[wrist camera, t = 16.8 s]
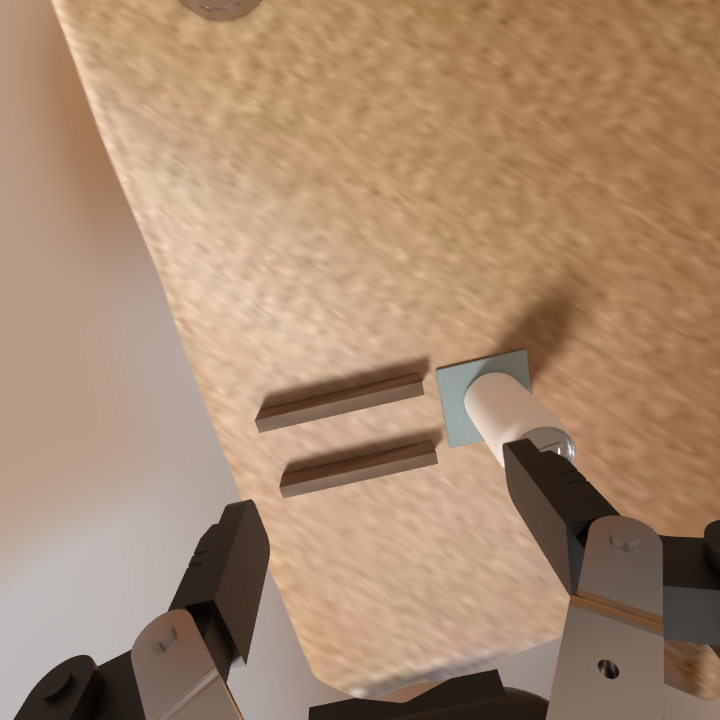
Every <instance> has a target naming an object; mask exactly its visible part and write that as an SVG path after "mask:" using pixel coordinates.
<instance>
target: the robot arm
mask: <svg viewBox="0 0 720 720" xmlns="http://www.w3.org/2000/svg"><path fill="white" fill-rule="evenodd" d="M179 1H180V2H181V3H183V4H184V5H185V6H186V7H187V8H188V9H189V10H191V11H192V12H194V13H196V14H197V15H199V16H201V17H204V18H207V19H209V20H214V21H231V20H236V19H238V18H240V17H243V16H245V15H247V14H248V13H249V12H251V11H252V10H253V9H255V8H256V6H257V5H258V4H259V3H260V1H261V0H179ZM502 450H503V458H504V465H505V473H506V480H507V486H508V490H509V494H510V497H511V499H512V501H513V503H514V505H515V507H516V509H517V510H518V512H519V514H520V515H521V517H522V518H523V520H524V522H525V523H526V525H527V527H528V528H529V530H530V532H531V533H532V535H533V536H534V538H535V540H536V541H537V543H538V545H539V546H540V548H541V550H542V551H543V553H544V555H545V556H546V558H547V559H548V561H549V563H550V564H551V566H552V568H553V569H554V571H555V573H556V574H557V576H558V578H559V579H560V581H561V582H562V584H563V586H564V587H565V589H566V591H567V592H568V594H569V596H570V597H571V598H570V602H569V607H568V612H567V617H566V622H565V627H564V632H563V636H562V642H561V646H560V651H559V656H558V662H557V666H556V671H555V676H554V681H553V686H552V691H551V696H550V701H548V700H546V699H544V698H542V697H540V696H538V695H536V694H533V693H530V692H527V691H525V690H520V689H516V688H511V687H503V685H502V682H501V679H500V676H499V674H498V670H497V669H495V670H490V671H486V672H480V673H476V674H471V675H466V676H461V677H456V678H451V679H449V680H447V681H445V682H443V683H441V684H440V685H438V686H436V687H434V688H432V689H430V690H428V691H427V692H425V693H423V694H421V695H419V696H417V697H416V698H413V699H412V700H410V701H408V702H405V703H396V702H386V701H376V700H367V699H358V698H353V699H348V700H344V701H339V702H334V703H329V704H325V705H320V706H315V707H310V708H309V720H664V639H668V640H676V641H684V642H693V643H701V644H709V646H710V647H711V648H712V649H713V651H714V652H715V653H716V654H717V656H718V657H719V658H720V520H717V521H714V522H712V523H710V524H709V525H707V527H706V528H705V531H704V538H693V537H671V536H662V535H658V534H657V533H656V532H655V531H654V530H653V529H652V528H650V527H649V526H647V525H646V524H644V523H642V522H640V521H638V520H635V519H633V518H629V517H624V516H621V515H620V514H619V513H618V512H617V511H616V510H615V509H614V508H613V507H612V506H611V505H610V503H609V502H608V501H607V500H606V499H605V498H604V497H603V496H602V495H601V494H600V493H599V492H598V491H597V490H596V489H595V488H594V487H593V486H592V485H591V484H590V482H589V481H586V478H585V477H584V476H583V475H582V474H581V473H580V472H578V471H577V469H576V468H575V467H574V466H573V465H572V464H571V463H570V461H569V460H568V459H567V458H565V457H563V456H561V455H559V454H557V453H555V452H553V451H551V450H548V451H543V452H540V451H539V450H538V448H537V447H536V446H535V445H534V444H533V443H532V441H531V440H530V439H528V438H524V439H519V440H515V441H511V442H506V443H503V445H502ZM269 557H270V545H269V539H268V536H267V533H266V531H265V528H264V526H263V523H262V521H261V518H260V515H259V513H258V510H257V508H256V505H255V503H254V502H253V500H251V499H250V500H245V501H241V502H236V503H232V504H228V505H227V506H226V507H225V509H224V511H223V514H222V516H221V519H220V521H219V523H218V524H213V525H212V526H211V527H210V528H209V529H208V530H207V532H206V533H205V534H204V535H203V536H202V537H201V539H200V541H199V543H198V545H197V547H196V550H195V552H194V556H192V558H191V561H190V563H189V568H187V570H186V572H185V574H184V576H183V579H182V581H181V583H180V585H179V588H178V590H177V592H176V594H175V596H174V599H173V601H172V603H171V605H170V607H169V610H168V612H166V613H164V614H162V615H160V616H159V617H157V618H156V619H155V620H153V621H152V622H151V623H150V624H148V625H147V626H146V627H145V629H144V630H143V631H142V632H141V633H140V635H139V636H138V637H137V639H136V641H135V643H134V645H133V647H132V649H131V650H130V651H128V652H126V653H124V654H122V655H120V656H118V657H116V658H114V659H112V660H110V661H108V662H106V663H104V664H102V665H100V666H98V667H97V665H96V663H95V662H94V660H93V659H92V658H91V657H90V656H88V655H79V656H75V657H72V658H70V659H68V660H66V661H64V662H62V663H61V664H59V665H58V666H56V667H55V668H54V669H52V670H51V671H50V672H49V673H47V675H45V676H44V677H43V678H42V679H41V680H40V681H39V682H38V683H37V685H36V686H35V687H34V688H33V690H32V691H31V692H30V694H29V695H28V697H27V699H26V700H25V702H24V703H23V705H22V707H21V709H20V710H19V712H18V713H17V715H16V717H15V718H14V720H244V718H243V716H242V714H241V712H240V710H239V708H238V706H237V704H236V702H235V699H234V697H233V695H232V693H231V691H230V689H229V687H228V685H227V679H228V675H229V671H230V669H232V668H237V667H242V666H246V663H247V658H248V654H249V649H250V645H251V640H252V636H253V631H254V626H255V622H256V617H257V613H258V607H259V603H260V599H261V594H262V589H263V585H264V580H265V576H266V571H267V567H268V562H269Z"/></svg>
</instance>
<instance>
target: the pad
mask: <svg viewBox="0 0 720 720" xmlns="http://www.w3.org/2000/svg"><path fill="white" fill-rule="evenodd" d="M493 372H500V373H505V374H507V375H510V376H511V377H513V378H514V379H515V380H516V381H518V382H519V383H520V384H521V385H522V386H523V387H524V388H525V389H527V390H528V391H529V392H530V393H531V386H530V376H529V366H528V356H527V349H523V350H518V351H514V352H510V353H505V354H501V355H497V356H493V357H488V358H484V359H480V360H476V361H471V362H467V363H463V364H458V365H454V366H450V367H446V368H441V369H437V370H436V375H437V380H438V386H439V391H440V397H441V402H442V407H443V413H444V418H445V424H446V429H447V435H448V440H449V446H450V448H454V447H459V446H463V445H467V444H472V443H476V442H481V441H485V440H484V438H483V437H482V435H481V434H480V432H479V431H478V429H477V428H476V426H475V425H474V423H473V422H472V420H471V418H470V417H469V415H468V413H467V411H466V409H465V405H464V398H465V394H466V392H467V390H468V388H469V386H470V385H471V384H472V383H473V382H474V381H475V380H476V379H477V378H479V377H481V376H483V375H485V374H488V373H493Z"/></svg>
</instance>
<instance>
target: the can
mask: <svg viewBox="0 0 720 720" xmlns="http://www.w3.org/2000/svg"><path fill="white" fill-rule="evenodd" d="M464 405H465V409H466V411H467V413H468V415H469V417H470V418H471V420H472V422H473V423H474V425H475V426H476V428H477V429H478V431H479V432H480V434H481V435H482V437H483V438H484V440H485V442H486V443H487V445H488V446H489V448H490V449H491V451H492V452H493V454H494V455H495V457H496V458H497V460H498V461H499V463H500V464H501V465H502V467H503V468H504V469H505V465H504V458H503V450H502V445H503V443H506V442H511V441H515V440H519V439H524V438H528V439H530V440H531V441H532V443H533V444H534V445H535V446H536V447H537V448H538V450H539V451H540V452H543V451H548V450H551V451H553V452H555V453H557V454H559V455H561V456H563V457H565V458H567V459H568V460H569V461H570V463H571V464H572V462H573V460H574V457H575V445H574V442H573V440H572V438H571V437H570V435H569V432H568V430H567V428H566V426H565V425H564V424H563V423H562V422H561V421H560V420H559V419H558V418H557V417H556V416H555V415H554V414H553V413H552V412H551V411H550V410H549V409H548V408H546V407H545V406H544V405H543V404H542V403H541V402H540V401H539V400H538V399H537V398H535V397H534V396H533V395H532V394H531V393H530V392H529V391H528V390H527V389H525V388H524V387H523V386H522V385H521V384H520V383H519V382H518V381H516V380H515V379H514V378H513V377H511V376H510V375H507V374H505V373H500V372H493V373H488V374H485V375H483V376H481V377H479V378H477V379H476V380H475V381H474V382H473V383H472V384H471V385H470V386H469V388H468V390H467V392H466V394H465V398H464Z"/></svg>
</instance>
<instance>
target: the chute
mask: <svg viewBox="0 0 720 720" xmlns="http://www.w3.org/2000/svg"><path fill="white" fill-rule="evenodd" d="M421 395H424V390H423V385H422V381H421V379H420V377H419V375H418V373H416V374H412V375H408V376H403V377H399V378H395V379H391V380H386V381H382V382H378V383H374V384H369V385H365V386H361V387H356V388H352V389H348V390H344V391H339V392H335V393H331V394H327V395H322V396H318V397H314V398H309V399H305V400H301V401H297V402H292V403H288V404H284V405H280V406H275V407H271V408H267V409H262V410H259V413H258V415H257V417H256V419H255V422H256V425H257V428H258V431H259V433H261V432H265V431H270V430H274V429H278V428H283V427H287V426H291V425H296V424H300V423H304V422H309V421H313V420H317V419H321V418H326V417H330V416H334V415H339V414H343V413H347V412H352V411H356V410H360V409H365V408H369V407H373V406H378V405H382V404H386V403H390V402H395V401H399V400H403V399H408V398H412V397H416V396H421ZM434 464H438V460H437V455H436V451H435V449H434V446H433V444H432V442H431V441H427V442H423V443H419V444H414V445H410V446H405V447H401V448H397V449H392V450H388V451H384V452H379V453H375V454H370V455H366V456H362V457H357V458H353V459H348V460H344V461H340V462H335V463H331V464H326V465H322V466H318V467H313V468H309V469H304V470H300V471H296V472H291V473H287V474H282V478H281V483H280V487H279V488H280V491H281V494H282V497H283V498H287V497H292V496H296V495H301V494H305V493H310V492H314V491H319V490H323V489H327V488H332V487H336V486H341V485H345V484H350V483H354V482H358V481H363V480H367V479H372V478H376V477H381V476H385V475H390V474H394V473H398V472H403V471H407V470H412V469H416V468H421V467H425V466H430V465H434Z"/></svg>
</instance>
